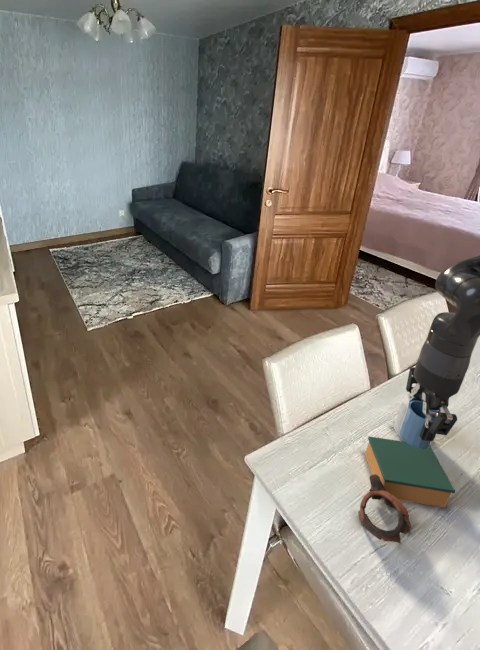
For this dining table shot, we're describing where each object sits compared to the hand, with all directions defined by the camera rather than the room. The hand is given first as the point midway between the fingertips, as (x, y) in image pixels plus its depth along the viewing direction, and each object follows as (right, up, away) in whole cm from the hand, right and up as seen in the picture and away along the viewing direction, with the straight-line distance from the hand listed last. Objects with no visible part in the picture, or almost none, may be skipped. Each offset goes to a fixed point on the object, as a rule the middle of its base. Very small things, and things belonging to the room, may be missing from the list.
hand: (418, 426), depth 74 cm
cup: (0, -3, +1) cm, 4 cm away
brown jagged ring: (-9, -19, -2) cm, 21 cm away
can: (+9, -11, +17) cm, 22 cm away
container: (0, -15, +6) cm, 17 cm away
